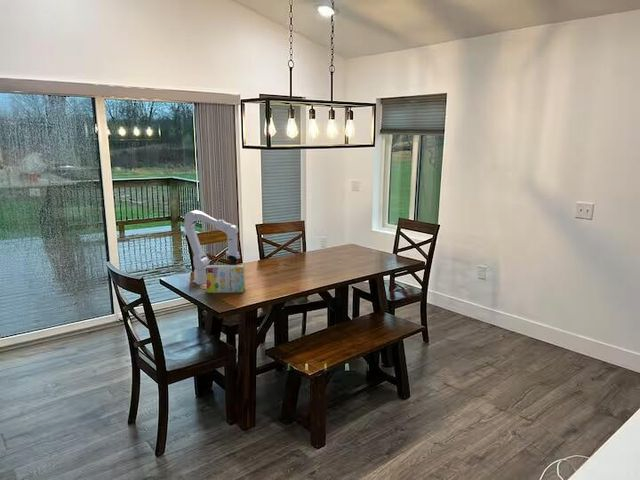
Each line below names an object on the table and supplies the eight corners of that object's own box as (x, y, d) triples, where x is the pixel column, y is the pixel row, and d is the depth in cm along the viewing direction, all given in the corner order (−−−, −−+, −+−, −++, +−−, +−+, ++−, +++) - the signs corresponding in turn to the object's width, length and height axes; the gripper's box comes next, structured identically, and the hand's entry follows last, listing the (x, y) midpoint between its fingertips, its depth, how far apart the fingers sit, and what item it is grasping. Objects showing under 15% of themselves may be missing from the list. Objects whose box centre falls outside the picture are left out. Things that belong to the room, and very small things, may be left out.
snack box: (245, 289, 267) (244, 264, 264) (244, 292, 262) (243, 267, 259) (208, 290, 267) (207, 264, 264) (206, 293, 261) (205, 267, 258)
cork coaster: (197, 286, 273) (197, 285, 273) (211, 283, 278) (211, 282, 278) (203, 290, 266) (203, 289, 266) (218, 287, 271) (218, 286, 271)
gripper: (244, 247, 269) (245, 269, 272) (233, 242, 280) (233, 264, 283) (233, 248, 265) (234, 271, 267) (222, 244, 276) (223, 266, 279)
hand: (233, 268), depth 275 cm, fingers closed
